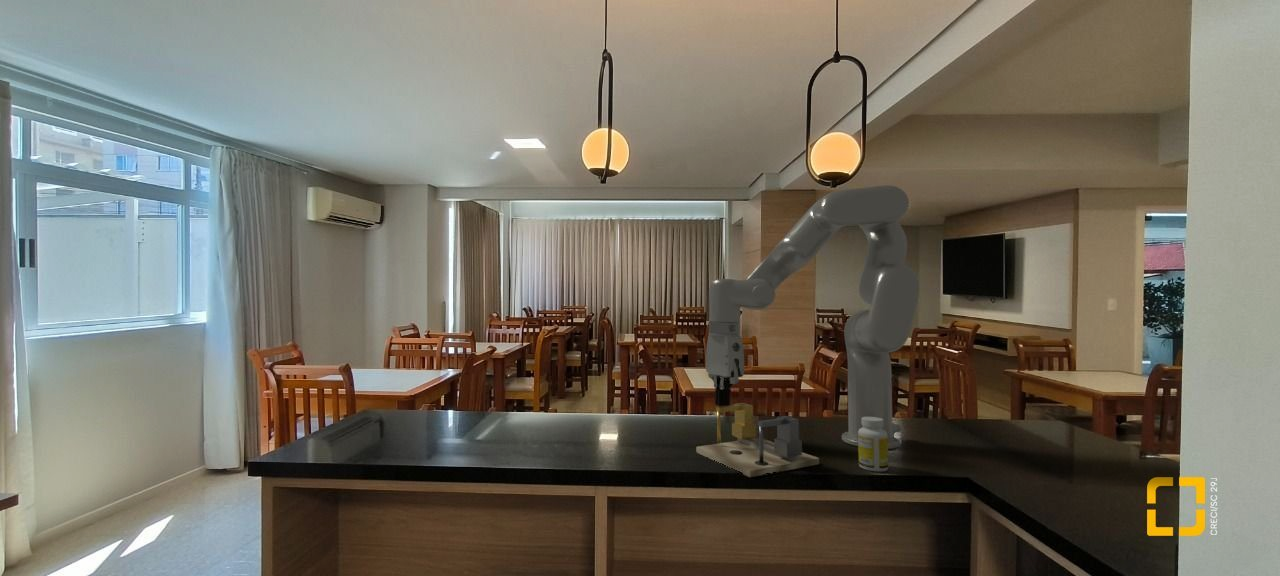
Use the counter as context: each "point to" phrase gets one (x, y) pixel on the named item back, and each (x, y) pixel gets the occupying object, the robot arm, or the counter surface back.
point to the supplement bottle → (873, 445)
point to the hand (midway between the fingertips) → (722, 405)
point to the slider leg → (738, 421)
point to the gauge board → (754, 457)
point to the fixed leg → (782, 437)
